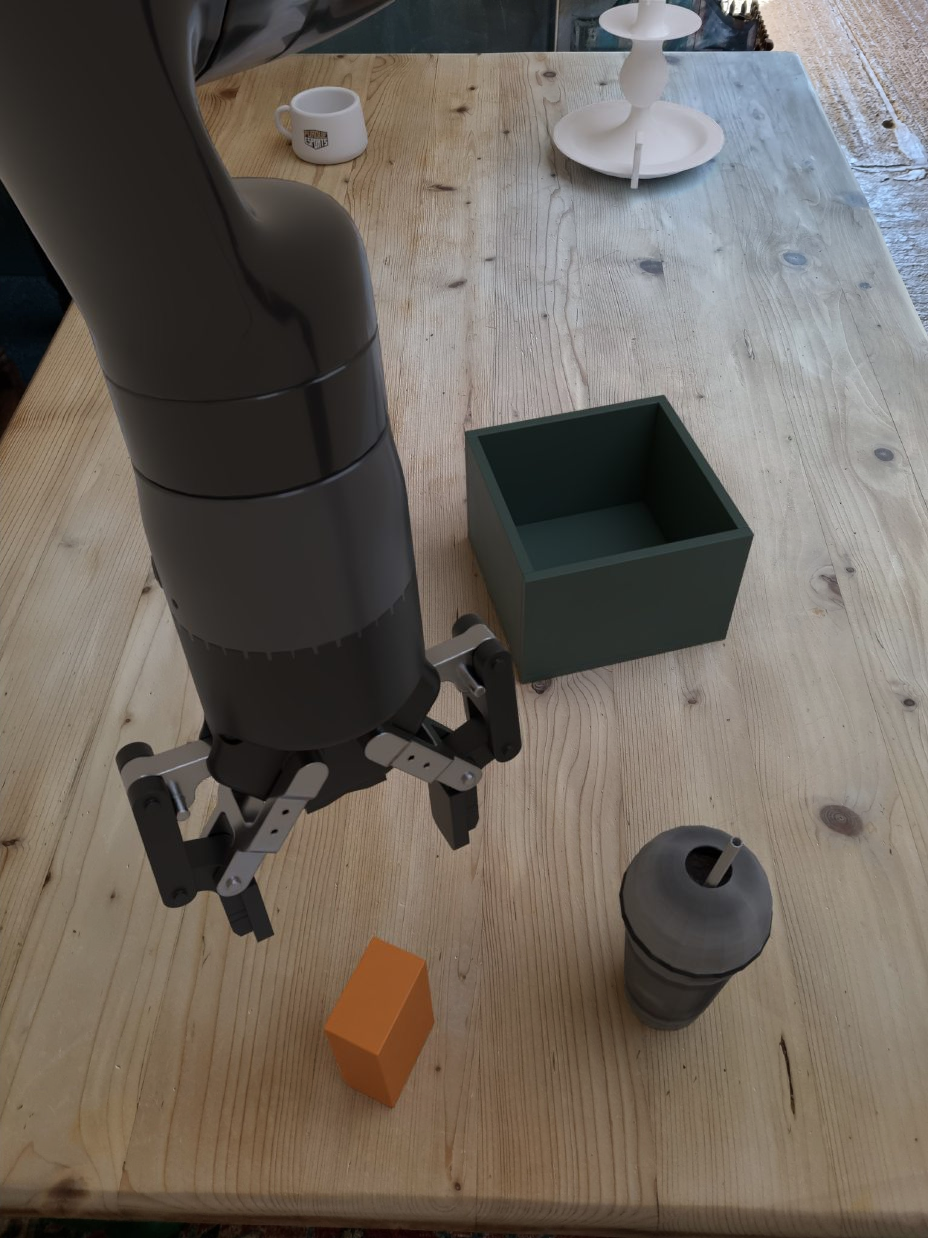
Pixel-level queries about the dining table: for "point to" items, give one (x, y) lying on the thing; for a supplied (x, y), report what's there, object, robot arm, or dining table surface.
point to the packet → (381, 1021)
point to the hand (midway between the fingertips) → (358, 876)
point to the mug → (325, 125)
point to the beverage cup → (690, 922)
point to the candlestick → (641, 105)
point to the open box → (602, 536)
